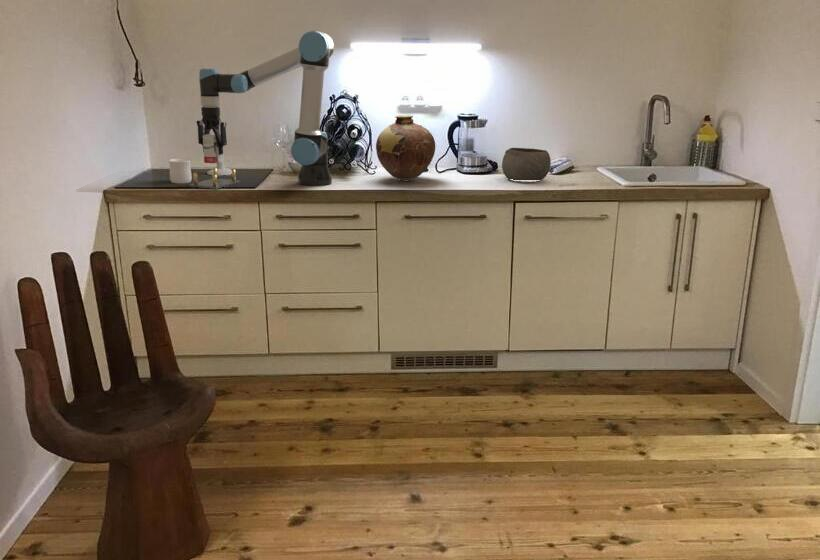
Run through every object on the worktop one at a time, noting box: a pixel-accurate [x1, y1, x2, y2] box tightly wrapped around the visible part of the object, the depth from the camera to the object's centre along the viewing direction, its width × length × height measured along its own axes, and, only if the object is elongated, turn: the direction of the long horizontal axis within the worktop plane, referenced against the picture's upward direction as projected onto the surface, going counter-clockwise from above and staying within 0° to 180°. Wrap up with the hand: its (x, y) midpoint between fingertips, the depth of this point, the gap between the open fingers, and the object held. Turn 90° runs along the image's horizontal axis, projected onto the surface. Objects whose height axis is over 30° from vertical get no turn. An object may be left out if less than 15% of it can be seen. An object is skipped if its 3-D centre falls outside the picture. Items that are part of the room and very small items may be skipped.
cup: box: [168, 157, 193, 184], centre depth 309 cm, size 10×10×10 cm
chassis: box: [188, 167, 241, 190], centre depth 304 cm, size 14×18×6 cm
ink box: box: [202, 133, 224, 164], centre depth 300 cm, size 9×5×12 cm, turn 168°
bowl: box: [501, 147, 552, 181], centre depth 331 cm, size 23×23×15 cm
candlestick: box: [206, 124, 232, 177], centre depth 329 cm, size 13×13×30 cm
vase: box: [375, 114, 436, 181], centre depth 321 cm, size 28×27×30 cm
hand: (213, 161), depth 302 cm, fingers closed on ink box, 5 cm apart
